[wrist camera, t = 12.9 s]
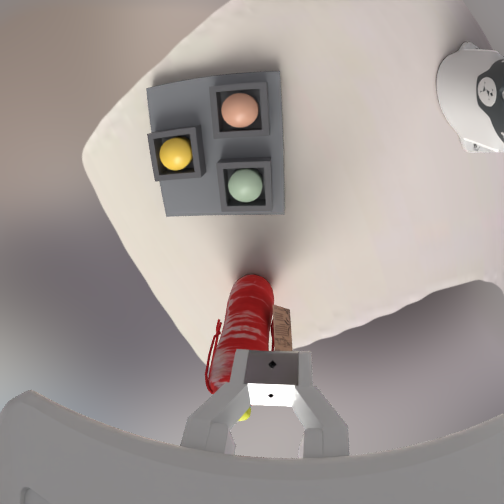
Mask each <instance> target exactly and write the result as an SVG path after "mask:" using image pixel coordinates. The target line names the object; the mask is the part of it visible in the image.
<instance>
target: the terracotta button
mask: <svg viewBox="0 0 504 504" xmlns="http://www.w3.org/2000/svg"><path fill="white" fill-rule="evenodd" d="M221 112H222V116H223V118H224V120H225V121H226V122H227V123H228V124H229V125H231V126H233V127H246V126H248V125H250V124H251V123H252V122H254V121H255V120H256V118H257V117H258V114H259V105H258V102H257V101H256V99H255V98H254V97H252V96H251V95H248V94H244V93H236V94H233V95H231V96H229V97H228V98H227V99H226V100H225V101H224V102H223V105H222V109H221Z"/></svg>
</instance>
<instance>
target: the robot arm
mask: <svg viewBox="0 0 504 504" xmlns="http://www.w3.org/2000/svg"><path fill="white" fill-rule="evenodd" d="M436 85H437V95H438V100H439V103H440V106H441V109H442V112H443V114H444V116H445V118H446V119H447V121H448V122H449V124H450V125H451V126H452V128H453V129H454V130H455V131H456V132H457V134H458V135H459V138H460V141H461V144H462V146H463V148H464V150H465V151H467V152H470V153H482V152H504V56H502V55H501V54H500V53H499V52H498V51H495V50H482V49H480V48H478V47H477V46H476V45H474V44H473V43H471V42H464V43H463V44H462V46H461V47H460V49H459V51H457V52H455V53H453V54H450V55H449V56H447V57H446V58H445V59H444V60H443V62H442V63H441V65H440V67H439V70H438V74H437V84H436ZM474 143H475V146H474ZM312 384H313V383H312V355H311V351H260V350H246V349H237V350H236V352H235V357H234V362H233V367H232V372H231V377H230V382H226V383H225V384H224V385H223V386H222V387H220V388H219V389H218V390H217V391H216V392H215V393H214V394H213V395H212V396H211V397H210V398H209V399H208V400H207V401H206V402H205V403H203V404H202V405H201V406H200V407H199V408H198V409H197V410H196V411H195V412H194V413H192V414H191V415H190V416H189V417H188V419H187V422H186V426H185V430H184V433H183V437H182V441H181V445H180V446H178V445H173V444H169V443H165V442H161V441H157V440H153V439H150V438H146V437H142V436H139V435H136V434H132V433H130V432H126V431H123V430H120V429H118V428H115V427H111V426H109V425H106V424H104V423H101V422H98V421H96V420H94V419H91V418H89V417H86V416H84V415H82V414H79V413H77V412H75V411H73V410H70V409H68V408H66V407H64V406H62V405H60V404H58V403H56V402H54V401H52V400H50V399H48V398H46V397H45V396H43V395H41V394H39V393H37V392H35V391H33V390H28V391H26V392H24V393H22V394H20V395H18V396H16V397H15V398H13V399H11V400H10V401H9V402H8V403H7V404H6V405H5V407H4V408H3V409H2V411H1V413H0V504H504V413H503V414H501V415H499V416H496V417H494V418H492V419H490V420H488V421H485V422H483V423H480V424H478V425H475V426H473V427H470V428H467V429H465V430H462V431H460V432H456V433H453V434H450V435H447V436H444V437H441V438H438V439H434V440H430V441H427V442H423V443H419V444H415V445H411V446H406V447H402V448H397V449H392V450H387V451H381V452H374V453H367V454H360V455H351V456H349V438H348V425H347V424H346V423H345V422H344V420H343V419H342V418H341V417H340V415H339V414H338V413H337V412H336V410H335V409H334V408H333V407H332V405H331V404H330V403H329V401H328V400H327V399H326V398H325V396H324V395H323V394H322V393H321V391H320V390H319V389H318V387H317V386H313V385H312ZM251 405H278V406H291V407H292V409H293V410H294V412H295V414H296V415H297V417H298V419H299V420H300V422H301V424H302V425H303V427H304V428H305V431H304V434H303V438H302V440H301V443H300V446H299V452H298V454H299V455H298V458H296V459H295V458H264V457H263V458H262V457H250V456H239V455H235V448H236V444H235V442H234V439H233V437H232V434H231V432H230V429H231V428H232V427H233V426H234V424H236V423H237V421H238V420H239V419H240V418H241V417H242V416H243V414H244V413H245V412H246V411H247V410H248V408H249V407H250V406H251Z"/></svg>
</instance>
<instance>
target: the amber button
mask: <svg viewBox="0 0 504 504" xmlns="http://www.w3.org/2000/svg"><path fill="white" fill-rule="evenodd" d="M160 159H161V162H162V163H163V165H164V166H165V167H167V168H168V169H171V170H180V169H183V168H184V167H185V166H187V165H188V164H189V163H190V162H191V161H192V160H193V155H192V147H191V141H190V140H189V139H188V138H186V137H182V136H177V137H174V138H172V139H169V140H167V141H166V142H165V143H164V144H163V145H162V146H161V149H160Z"/></svg>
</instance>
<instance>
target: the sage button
mask: <svg viewBox="0 0 504 504" xmlns="http://www.w3.org/2000/svg"><path fill="white" fill-rule="evenodd" d="M262 187H263V178H262V176H261V174H260V173H259V171H257V170H256V169H254V168H239V169H237V170H236V171H235V172H234V173H233V175H232V176H231V178H230V180H229V183H228V188H229V192H230V194H231V195H232V196H233V197H234V198H235V199H236V200H238V201H241V202H251V201H253V200H255V199H257V198H258V197H259V195H260V193H261V191H262Z"/></svg>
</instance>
